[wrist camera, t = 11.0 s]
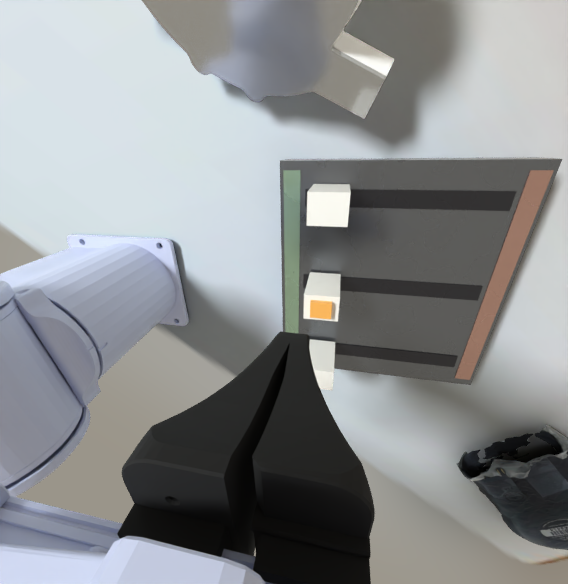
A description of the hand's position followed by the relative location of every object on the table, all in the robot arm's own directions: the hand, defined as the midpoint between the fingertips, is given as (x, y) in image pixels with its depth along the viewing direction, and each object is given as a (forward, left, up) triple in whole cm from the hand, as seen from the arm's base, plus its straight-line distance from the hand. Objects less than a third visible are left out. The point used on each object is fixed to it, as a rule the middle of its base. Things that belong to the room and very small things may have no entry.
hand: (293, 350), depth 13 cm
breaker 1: (+1, +6, -7) cm, 9 cm away
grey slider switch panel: (+5, 0, -9) cm, 11 cm away
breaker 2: (+1, -6, -7) cm, 9 cm away
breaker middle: (+1, 0, -7) cm, 7 cm away
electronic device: (+22, -21, -10) cm, 32 cm away
